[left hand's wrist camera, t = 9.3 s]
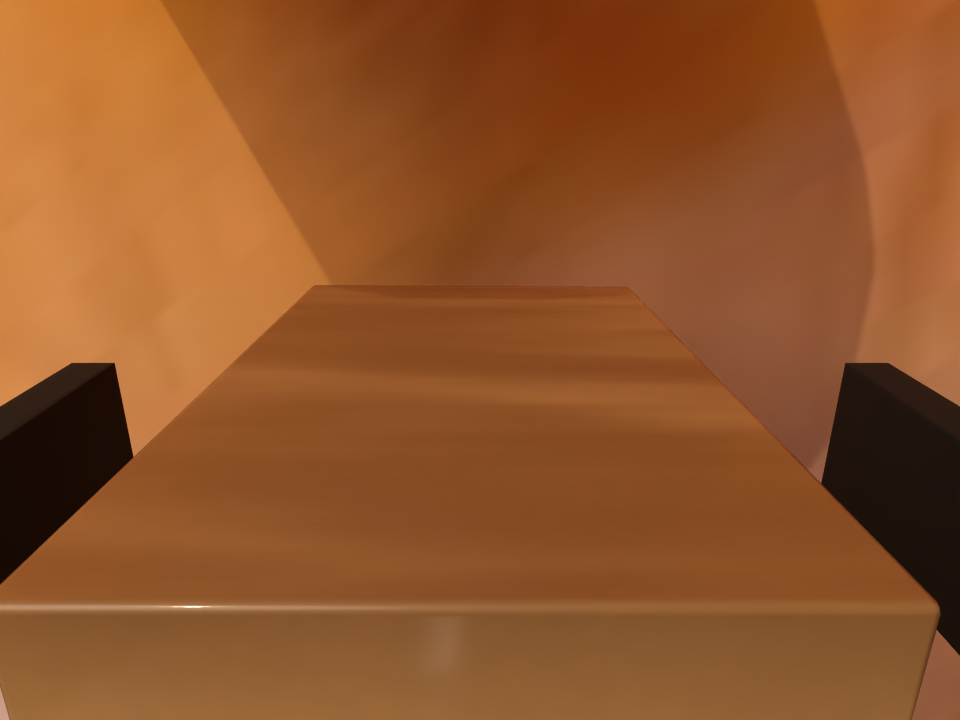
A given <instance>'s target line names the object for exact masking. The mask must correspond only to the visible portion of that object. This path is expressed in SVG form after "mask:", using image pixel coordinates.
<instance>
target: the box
mask: <svg viewBox="0 0 960 720" xmlns="http://www.w3.org/2000/svg"><path fill="white" fill-rule="evenodd" d="M940 615H941V614H940V608H939V605H938V603H937V601H936V600H935V599H934V598H933V597H932V596H931V595H930V594H929V593H928V592H927V591H926V590H925V589H924V588H923V587H922V586H921V585H920V584H919V583H918V582H917V581H916V580H915V579H914V578H913V577H912V576H911V575H910V574H909V573H908V572H907V571H906V570H905V569H904V568H903V567H902V566H901V565H900V564H899V562H898V561H897V560H896V559H895V558H894V557H893V556H892V555H891V554H890V553H889V552H888V551H887V550H886V549H885V548H884V547H883V546H882V545H881V544H880V543H879V542H878V541H877V540H876V539H875V538H874V537H873V536H872V535H871V534H870V533H869V532H868V531H867V530H866V529H865V528H864V527H863V526H862V525H861V524H860V523H859V522H858V521H857V520H856V519H855V518H854V517H853V516H852V515H851V514H850V513H849V512H848V511H847V510H846V509H845V508H844V506H843V505H842V504H841V503H840V502H839V501H838V500H837V499H836V498H835V497H834V496H833V495H832V494H831V493H830V492H829V491H828V490H827V489H826V488H825V487H824V486H823V485H822V484H821V483H820V482H819V481H818V480H817V479H816V478H815V477H814V476H813V475H812V474H811V473H810V472H809V471H808V470H807V469H806V468H805V467H804V466H803V465H802V464H801V463H800V462H799V461H798V460H797V459H796V458H795V457H794V456H793V455H792V454H791V453H790V452H789V450H788V449H787V448H786V447H785V446H784V445H783V444H782V443H781V442H780V441H779V440H778V439H777V438H776V437H775V436H774V435H773V434H772V433H771V432H770V431H769V430H768V429H767V428H766V427H765V426H764V425H763V424H762V423H761V422H760V421H759V420H758V419H757V418H756V417H755V416H754V415H753V414H752V413H751V412H750V411H749V410H748V409H747V408H746V407H745V406H744V405H743V404H742V403H741V402H740V401H739V400H738V399H737V398H736V397H735V396H734V395H733V393H732V392H731V391H730V390H729V389H728V388H727V387H726V386H725V385H724V384H723V383H722V382H721V381H720V380H719V379H718V378H717V377H716V376H715V375H714V374H713V373H712V372H711V371H710V370H709V369H708V368H707V367H706V366H705V365H704V364H703V363H702V362H701V361H700V360H699V359H698V358H697V357H696V356H695V355H694V354H693V353H692V352H691V351H690V350H689V349H688V348H687V347H686V346H685V345H684V344H683V343H682V342H681V341H680V340H679V339H678V337H677V336H676V335H675V334H674V333H673V332H672V331H671V330H670V329H669V328H668V327H667V326H666V325H665V324H664V323H663V322H662V321H661V320H660V319H659V318H658V317H657V316H656V315H655V314H654V313H653V312H652V311H651V310H650V309H649V308H648V307H647V306H646V305H645V304H644V303H643V302H642V301H641V300H640V299H639V298H638V297H637V296H636V295H635V294H634V293H633V292H632V291H631V290H630V289H629V288H627V287H539V286H349V285H315V286H313V287H312V288H311V289H310V290H309V291H308V292H307V293H305V294H304V295H303V296H302V297H301V298H300V299H299V300H298V301H297V302H296V303H295V304H294V305H293V306H292V307H291V308H290V309H289V310H288V311H287V312H286V313H284V314H283V315H282V316H281V317H280V318H279V319H278V320H277V321H276V322H275V323H274V324H273V325H272V326H271V327H270V328H269V329H268V330H267V331H266V332H265V333H264V334H262V335H261V336H260V337H259V338H258V339H257V340H256V341H255V342H254V343H253V344H252V345H251V346H250V347H249V348H248V349H247V350H246V351H245V352H244V353H243V354H241V355H240V356H239V357H238V358H237V359H236V360H235V361H234V362H233V363H232V364H231V365H230V366H229V367H228V368H227V369H226V370H225V371H224V372H223V373H222V374H221V375H219V376H218V377H217V378H216V379H215V380H214V381H213V382H212V383H211V384H210V385H209V386H208V387H207V388H206V389H205V390H204V391H203V392H202V393H201V394H200V395H198V396H197V397H196V398H195V399H194V400H193V401H192V402H191V403H190V404H189V405H188V406H187V407H186V408H185V409H184V410H183V411H182V412H181V413H180V414H179V415H178V416H176V417H175V418H174V419H173V420H172V421H171V422H170V423H169V424H168V425H167V426H166V427H165V428H164V429H163V430H162V431H161V432H160V433H159V434H158V435H157V436H155V437H154V438H153V439H152V440H151V441H150V442H149V443H148V444H147V445H146V446H145V447H144V448H143V449H142V450H141V451H140V452H139V453H138V454H137V455H136V456H135V457H133V458H132V459H131V460H130V461H129V462H128V463H127V464H126V465H125V466H124V467H123V468H122V469H121V470H120V471H119V472H118V473H117V474H116V475H115V476H114V477H112V478H111V479H110V480H109V481H108V482H107V483H106V484H105V485H104V486H103V487H102V488H101V489H100V490H99V491H98V492H97V493H96V494H95V495H94V496H93V497H92V498H90V499H89V500H88V501H87V502H86V503H85V504H84V505H83V506H82V507H81V508H80V509H79V510H78V511H77V512H76V513H75V514H74V515H73V516H72V517H71V518H69V519H68V520H67V521H66V522H65V523H64V524H63V525H62V526H61V527H60V528H59V529H58V530H57V531H56V532H55V533H54V534H53V535H52V536H51V537H50V538H49V539H47V540H46V541H45V542H44V543H43V544H42V545H41V546H40V547H39V548H38V549H37V550H36V551H35V552H34V553H33V554H32V555H31V556H30V557H29V558H28V559H26V560H25V561H24V562H23V563H22V564H21V565H20V566H19V567H18V568H17V569H16V570H15V571H14V572H13V573H12V574H11V575H10V576H9V577H8V578H7V579H6V580H4V581H3V582H2V583H1V584H0V687H1V691H2V694H3V698H4V701H5V705H6V708H7V712H8V715H9V719H10V720H911V719H912V716H913V712H914V708H915V705H916V701H917V698H918V694H919V690H920V687H921V683H922V680H923V676H924V672H925V669H926V665H927V662H928V658H929V654H930V651H931V647H932V644H933V640H934V636H935V633H936V629H937V626H938V622H939V618H940Z"/></svg>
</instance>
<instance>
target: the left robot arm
mask: <svg viewBox="0 0 960 720" xmlns="http://www.w3.org/2000/svg"><path fill="white" fill-rule="evenodd" d="M132 458H133V453H132V448H131V443H130V438H129V433H128V428H127V423H126V418H125V413H124V408H123V403H122V398H121V393H120V388H119V383H118V378H117V373H116V368H115V363H71V364H70V365H68V366H66V367H65V368H63V369H61V370H60V371H58V372H56V373H55V374H53V375H51V376H50V377H48V378H47V379H45V380H43V381H42V382H40V383H38V384H37V385H35V386H33V387H32V388H30V389H28V390H27V391H25V392H24V393H22V394H20V395H19V396H17V397H15V398H14V399H12V400H10V401H9V402H7V403H5V404H4V405H2V406H1V407H0V584H1V583H2V582H3V581H4V580H6V579H7V578H8V577H9V576H10V575H11V574H12V573H13V572H14V571H15V570H16V569H17V568H18V567H19V566H20V565H21V564H22V563H23V562H24V561H25V560H26V559H28V558H29V557H30V556H31V555H32V554H33V553H34V552H35V551H36V550H37V549H38V548H39V547H40V546H41V545H42V544H43V543H44V542H45V541H46V540H47V539H49V538H50V537H51V536H52V535H53V534H54V533H55V532H56V531H57V530H58V529H59V528H60V527H61V526H62V525H63V524H64V523H65V522H66V521H67V520H68V519H69V518H71V517H72V516H73V515H74V514H75V513H76V512H77V511H78V510H79V509H80V508H81V507H82V506H83V505H84V504H85V503H86V502H87V501H88V500H89V499H90V498H92V497H93V496H94V495H95V494H96V493H97V492H98V491H99V490H100V489H101V488H102V487H103V486H104V485H105V484H106V483H107V482H108V481H109V480H110V479H111V478H112V477H114V476H115V475H116V474H117V473H118V472H119V471H120V470H121V469H122V468H123V467H124V466H125V465H126V464H127V463H128V462H129V461H130V460H131V459H132ZM821 484H822V485H823V486H824V487H825V488H826V489H827V490H828V491H829V492H830V493H831V494H832V495H833V496H834V497H835V498H836V499H837V500H838V501H839V502H840V503H841V504H842V505H843V506H844V508H845V509H846V510H847V511H848V512H849V513H850V514H851V515H852V516H853V517H854V518H855V519H856V520H857V521H858V522H859V523H860V524H861V525H862V526H863V527H864V528H865V529H866V530H867V531H868V532H869V533H870V534H871V535H872V536H873V537H874V538H875V539H876V540H877V541H878V542H879V543H880V544H881V545H882V546H883V547H884V548H885V549H886V550H887V551H888V552H889V553H890V554H891V555H892V556H893V557H894V558H895V559H896V560H897V561H898V562H899V564H900V565H901V566H902V567H903V568H904V569H905V570H906V571H907V572H908V573H909V574H910V575H911V576H912V577H913V578H914V579H915V580H916V581H917V582H918V583H919V584H920V585H921V586H922V587H923V588H924V589H925V590H926V591H927V592H928V593H929V594H930V595H931V596H932V597H933V598H934V599H935V600H936V601H937V603H938V605H939V608H940V614H941V615H940V618H939V622H938V626H937V630H938V631H939V633H940V634H941V635H942V636H943V637H944V638H945V639H946V640H947V642H948V643H949V644H950V645H951V646H952V647H953V648H954V649H955V651H956V652H957V653H958V654H959V655H960V407H959V406H958V405H956V404H955V403H953V402H951V401H950V400H948V399H946V398H945V397H943V396H941V395H940V394H938V393H936V392H935V391H933V390H932V389H930V388H928V387H927V386H925V385H923V384H922V383H920V382H918V381H917V380H915V379H913V378H912V377H910V376H909V375H907V374H905V373H904V372H902V371H900V370H899V369H897V368H895V367H894V366H892V365H890V364H889V363H845V368H844V373H843V378H842V383H841V388H840V393H839V398H838V403H837V408H836V413H835V418H834V423H833V428H832V433H831V438H830V443H829V448H828V453H827V458H826V463H825V468H824V473H823V478H822V483H821Z"/></svg>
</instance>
